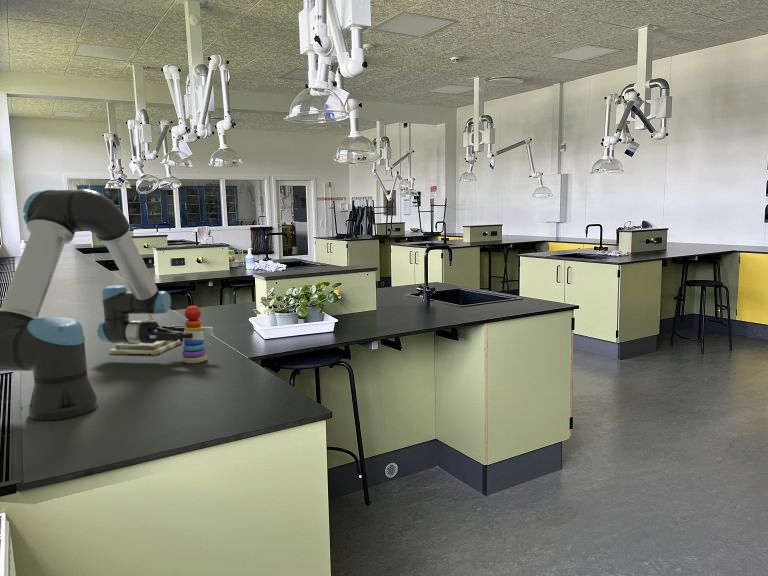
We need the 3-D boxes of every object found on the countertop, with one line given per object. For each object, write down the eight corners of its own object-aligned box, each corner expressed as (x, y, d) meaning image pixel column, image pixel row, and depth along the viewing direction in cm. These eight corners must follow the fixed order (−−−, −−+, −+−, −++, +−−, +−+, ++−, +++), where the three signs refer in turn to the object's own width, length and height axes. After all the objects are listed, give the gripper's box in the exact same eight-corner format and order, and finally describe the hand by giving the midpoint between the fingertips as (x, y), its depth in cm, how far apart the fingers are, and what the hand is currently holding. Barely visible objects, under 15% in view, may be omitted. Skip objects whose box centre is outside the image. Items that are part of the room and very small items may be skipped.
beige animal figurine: (155, 324, 247) (158, 331, 239) (126, 333, 242) (128, 340, 234) (150, 309, 245) (153, 314, 236) (121, 317, 240) (122, 324, 231)
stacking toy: (199, 364, 182) (195, 308, 179) (177, 363, 183) (173, 307, 181) (211, 358, 189) (208, 304, 187) (190, 357, 191) (186, 303, 188)
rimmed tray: (155, 355, 195) (155, 346, 195) (109, 354, 198) (108, 345, 198) (182, 343, 213) (182, 335, 213) (139, 342, 216) (139, 334, 216)
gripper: (160, 336, 198) (221, 338, 194) (127, 349, 180) (194, 351, 176) (158, 316, 197) (219, 316, 193) (125, 327, 178) (192, 328, 175)
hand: (207, 333), depth 184 cm, fingers closed on stacking toy, 6 cm apart
